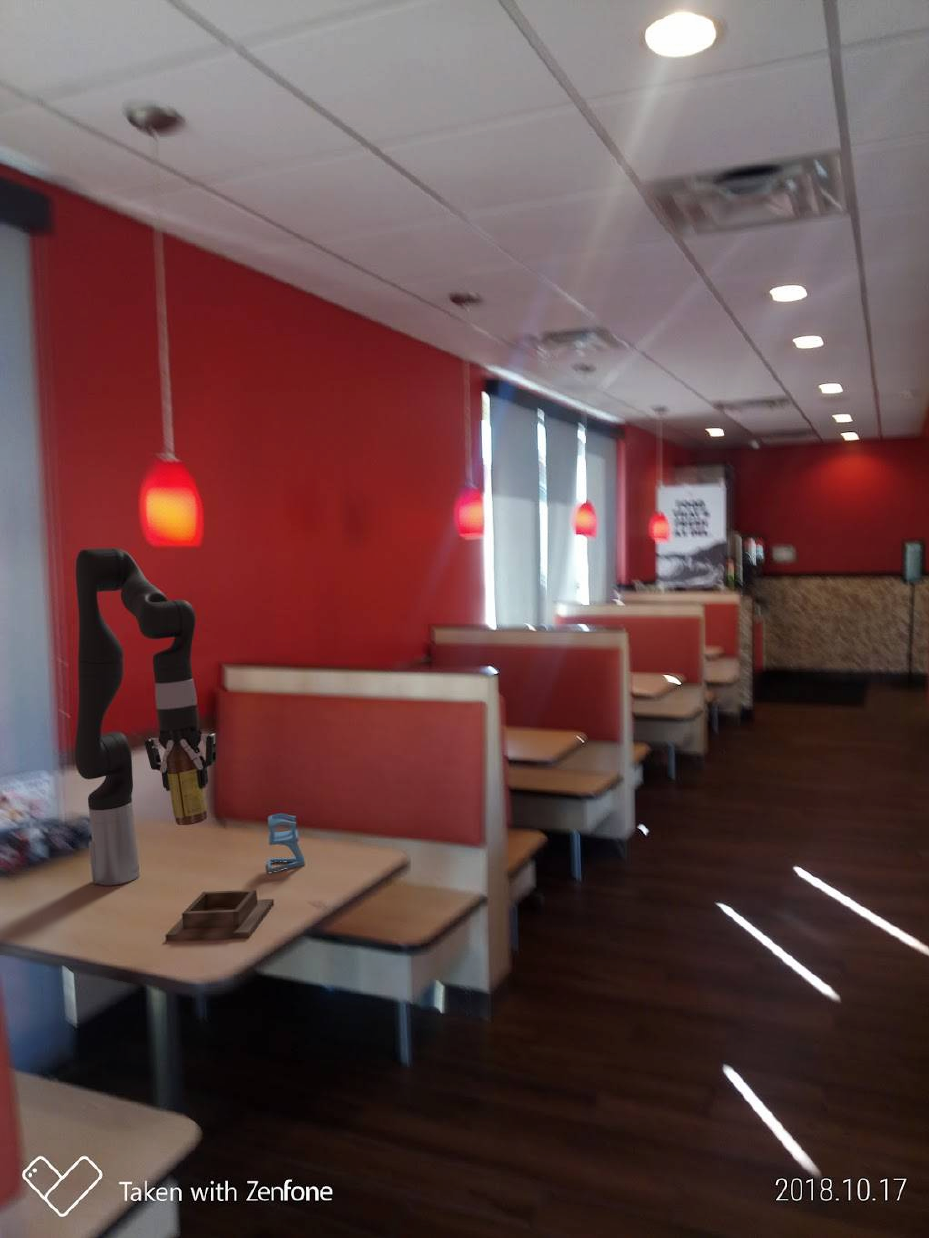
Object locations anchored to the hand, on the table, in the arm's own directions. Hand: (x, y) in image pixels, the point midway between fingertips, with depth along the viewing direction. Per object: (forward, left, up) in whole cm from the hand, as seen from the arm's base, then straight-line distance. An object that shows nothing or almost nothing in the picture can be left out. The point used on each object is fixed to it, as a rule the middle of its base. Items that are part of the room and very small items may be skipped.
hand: (186, 788), depth 182 cm
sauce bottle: (0, 0, -7) cm, 7 cm away
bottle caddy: (+5, -1, -26) cm, 27 cm away
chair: (+9, +30, -27) cm, 41 cm away
